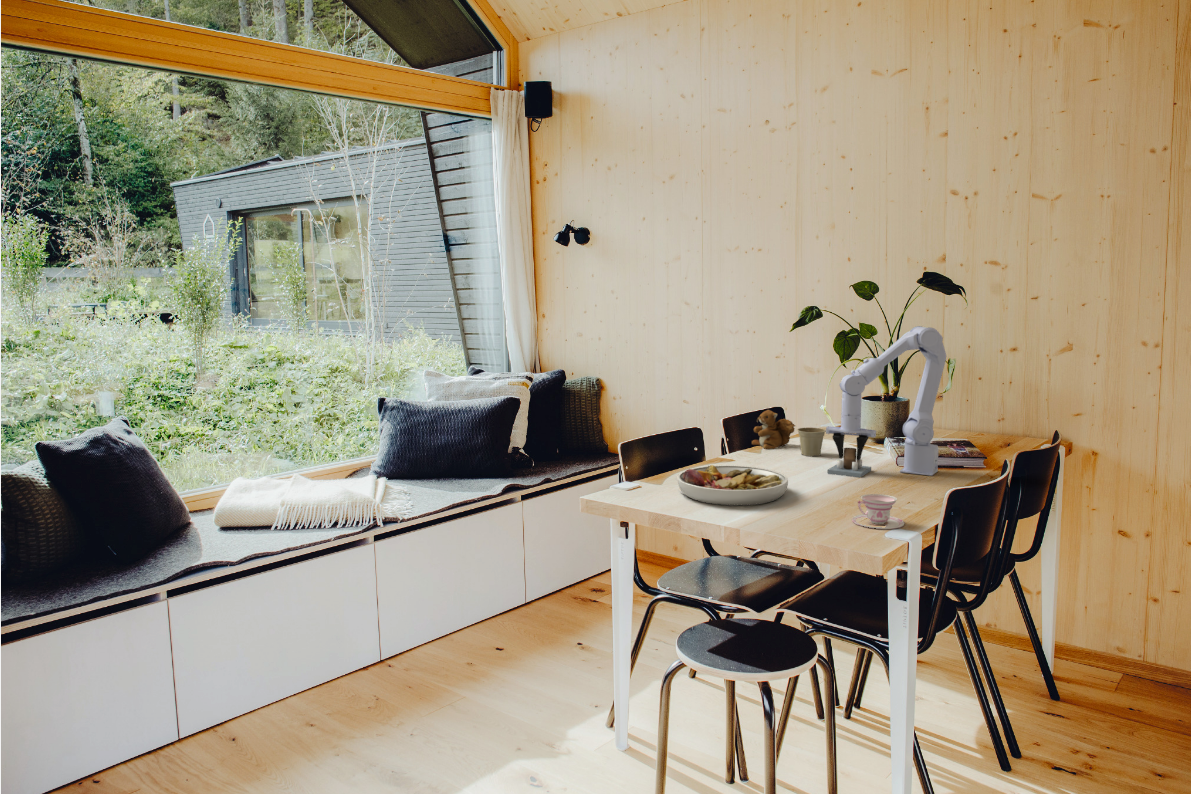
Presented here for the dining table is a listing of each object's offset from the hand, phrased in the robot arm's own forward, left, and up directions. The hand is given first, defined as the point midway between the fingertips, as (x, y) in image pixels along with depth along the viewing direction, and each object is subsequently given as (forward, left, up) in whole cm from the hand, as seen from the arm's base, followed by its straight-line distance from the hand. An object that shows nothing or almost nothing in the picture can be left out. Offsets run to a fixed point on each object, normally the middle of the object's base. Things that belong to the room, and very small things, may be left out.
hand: (849, 458), depth 251 cm
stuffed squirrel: (+36, -27, -4) cm, 45 cm away
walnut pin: (0, 0, -3) cm, 3 cm away
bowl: (+19, +43, -5) cm, 47 cm away
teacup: (-23, +50, -5) cm, 55 cm away
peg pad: (0, 0, -4) cm, 4 cm away
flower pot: (+19, -19, -4) cm, 27 cm away
